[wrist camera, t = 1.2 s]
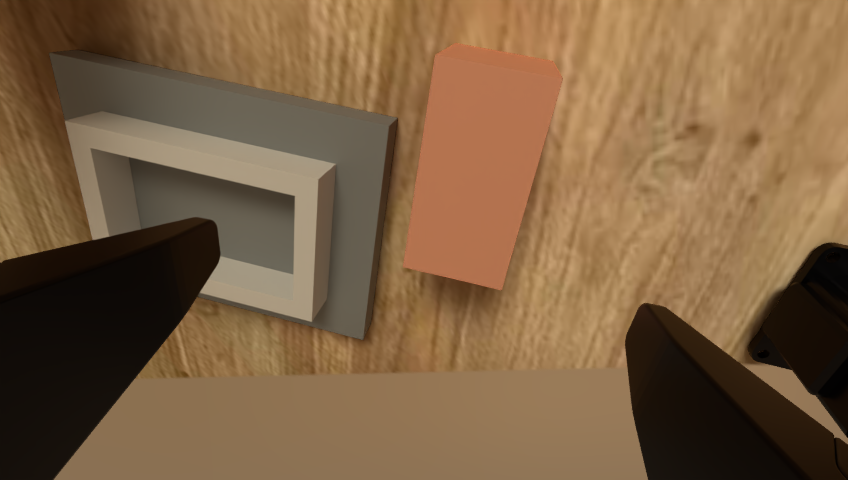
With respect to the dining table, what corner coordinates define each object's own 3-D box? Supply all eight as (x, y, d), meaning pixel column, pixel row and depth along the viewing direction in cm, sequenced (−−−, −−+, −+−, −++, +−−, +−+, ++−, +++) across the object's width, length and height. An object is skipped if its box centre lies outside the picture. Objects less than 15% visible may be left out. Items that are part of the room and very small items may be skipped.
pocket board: (397, 117, 20) (375, 138, 17) (370, 323, 26) (350, 365, 23) (77, 49, 22) (4, 57, 18) (120, 258, 27) (70, 290, 24)
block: (455, 42, 18) (435, 54, 14) (553, 60, 18) (562, 78, 14) (426, 215, 22) (403, 266, 18) (505, 233, 22) (501, 290, 18)
